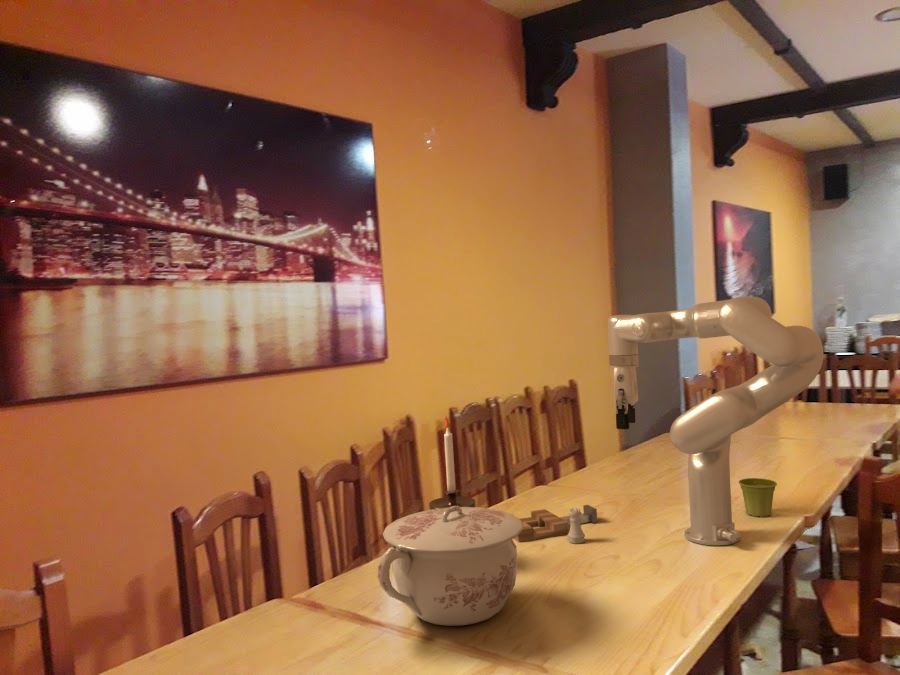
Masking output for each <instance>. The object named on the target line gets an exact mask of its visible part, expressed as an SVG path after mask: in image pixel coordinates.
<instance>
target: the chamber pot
mask: <svg viewBox="0 0 900 675" xmlns="http://www.w3.org/2000/svg"><path fill="white" fill-rule="evenodd" d="M518 518H519V517H518V516H516V515H514V514H513V515H512V513H509V512H506V511H503V510H500V509H499V510H498V509H492V508H487V507H479V506H478V507H476V506H475V507H459V506H452V507H447V508H439V509H432V510H430V509H426V510H424V511H423V510H422V511H419V512H415V513H411V514H408V515H406V516H404V517H401V518H398V519H395V520H394V521H392V522H391V523H390V524H388V525H387V526H385V528H384V531H383V532H382V536H383V538H384V540H385V542H386V543H388V544H390V545H391V547H388V549H387V550H385V552H383V554H382V556H381V557H380V558H379V561H378V565H377V579H378V582H379V586H380V587H381V588H382V589H383V591H384V592H385V593H386V594H387V595H388V596H389V597H391V598H393V599H395V600H398V601H400V602H402V603H403V604H404V605H405V606H406V607H408V609H409V610H410V611H411V612H412V613H413V614H414V615H415V616H416V617H417V618H419V619H420V620H422V621H424V622H427V623H430V624H433V625H439V626H447V627H458V626H459V627H462V626H467V625H474V624H478V623H480V622H484V621H486V620H489V619H490V618H492V617H494V616H496V615H497V614H498V613H499V612H500V611H501V610H502V608H503V607H504V606H505V604H506V602H507V600H508V599H509V596H510V595H511V593H512V591H513V589H514V587H515V585H516V580H517V579H516V578H517V573H518V565H519V564H518V551H517V550H518V549H517V545H516V544H515V542H514V540H515V539H514V538H516V537H517V536H518V535H519V533H520V532H521V531H522V530H523V523H522V521H521V520H519V519H520V518H519V519H518ZM391 565H392V566H391ZM391 567H392V573H393V577H394V581H395V586H396V588H397V590H396V589H395V587H394V586H393V585H392V582H391V578H390V572H391V571H390V569H391Z"/></svg>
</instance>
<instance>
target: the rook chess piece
mask: <svg viewBox="0 0 900 675" xmlns="http://www.w3.org/2000/svg"><path fill="white" fill-rule="evenodd" d="M567 514H568V516H570V521H571V525H569V533H568V534H567V541H568V543H570V544H574V545H579V544H583V543H584V542H586V538H585V537H586V536H585V533H584V531H583V529H582V525H581V524H582V523H580V520H581V519H580V515H581V514H583V513H582V512H581V509H580V508H576V507H575V509H574V507H573V508H572V507H571V508H570V509H569V512H568V513H567Z"/></svg>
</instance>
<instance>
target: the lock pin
mask: <svg viewBox="0 0 900 675" xmlns="http://www.w3.org/2000/svg"><path fill="white" fill-rule="evenodd" d="M582 507H583V509H582V510H583V513H582V514H581V515H580V519H581V520H580V524H585V523H591V524H595V523H598V511H597V508H596V507H593V506H591V505H589V504H584V505H583V506H582ZM559 517H560V518H561V519H563V520H565V521H567V522H568V526H570V525H571V521H570V515H567V516H566V515H565V516H559Z"/></svg>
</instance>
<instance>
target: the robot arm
mask: <svg viewBox="0 0 900 675" xmlns="http://www.w3.org/2000/svg"><path fill="white" fill-rule="evenodd" d="M772 313H773V312H772V310H771V306H770V304H769V303H768V302H767V301H766V300H764V299H763V298H760V297H759V296H751V295H750V296H737V297H736V296H735V297H732V298H730V299H723V300H716V301H710V302H703V303H698V304H697V303H696V304H695V305H694V306H693V307H688V308H684V309H676V310H669V311H668V310H667V311H660V312H646V313H639V314H634V315H633V314H616V315H610V316H609V317H608V319H607V338H608V339H607V340H608V341H607V342H608V343H607V344H608V365H609V368H611V369H613V370H612V371H613V372H612V376H613V378H612V379H613V380H612V382H613V385H612V386H613V388H612V389H613V401H614V404H615V406H616V409H615V421H616V422H615V423H616V424H615V428H616V429H617V430H629V429H630V424H635V423H636V407H635V404H637V402H639V392H638V390H639V389H638V378H637V377H638V376H637V368H639V365H640V364H639V344H640V343H641V344H648V343H653V342H654V343H656V342H664V341H670V340H678V339H679V340H680V339H681V340H682V339H687V338H688V339H689V338H697V339H698V338H699V339H700V340H701V339H711V338H720V337H726V336H727V337H732V338H733V339H734V340H735V341H737V342H739V343H740V344H741V345H742V346H744V347H746V348H747V349H748V350H749V351H750V352H752V353H753V354H755V355H756V356H758V357H759V358H760V359H762V360H763V361H765V362H766V363H768V364H770V366H769V367H766V368H764V369H763V370H761V371H759V372H758V373H757V374H755V375H754V376H753V377H751V378H749V379H748V380H746V381H745V382H743V383H741V384H739V385H736V386H732V387H729V388H728V387H727V388H725V389H722V390H720V391H717V392H714V393H713V394H711V395H710V396H708V397H706V398H705V399H703V400H702V401H700V402H699V403H697V404H696V405H694V406H693V407H691V408H689V409H688V410H686V411H685V412H683V413H682V414H681V415H679V416H678V417H676V418H675V420H673V422H672V424H671V426H670V429H669V437H670V441H671V443H672V445H673V446H674V448H675V449H677V450H678V451H679V452H680V453H684V454H685V455H688V456H687V460H688V461H687V471H688V472H687V473H688V474H687V476H688V477H687V480H688V497H689V499H688V500H689V516H690V527H688V528H687V529H685V530H684V538H685V539H687V540H688V541H690V542H692V543H696V544H699V545H707V546H728V545H733V544H736V543H738V542H739V541H740V540H741V539H740V538H741V536H742V532H741V531H739V530H735V529H736V527H735V522H733V517H732V516H733V512H732V494H731V493H732V492H731V470H730V469H731V468H730V467H731V466H730V452H731V451H730V450H731V442H732V441H731V439H732V435H733V434H735V433H736V432H739V431H740V430H743V429H746V428H748V427H750V426H752V425H754V424H755V423H757V422H758V421H759V420H760V419H762V418H763V417H765V416H766V415H768V414H769V413H771V412H773V411H774V410H776V409H778V408H779V407H781V406H782V405H783V404H785V403H787V402H788V401H790V400H791V399H794V398H795V397H796V396H798V395H799V394H800V393H802V392H803V391H805V390H806V389H807V388H808V387H809V386H810V385H811V384H812V382H813V381H815V379H816V378H817V376H818V374H819V372H820V370H821V369H822V365H823V362H824V347H823V343H822V340H821V338H820V336H819V334H818V333H817V332H816V331H814V330H813V329H811V328H809V327H807V326H803V325H789V326H785V325H784V324H782V323H781V322H779V321H777V320H776V319H774V318H773V317H772V315H773V314H772ZM638 343H639V344H638Z"/></svg>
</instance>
